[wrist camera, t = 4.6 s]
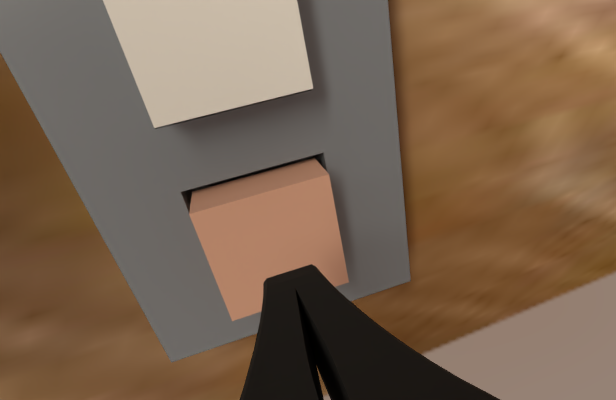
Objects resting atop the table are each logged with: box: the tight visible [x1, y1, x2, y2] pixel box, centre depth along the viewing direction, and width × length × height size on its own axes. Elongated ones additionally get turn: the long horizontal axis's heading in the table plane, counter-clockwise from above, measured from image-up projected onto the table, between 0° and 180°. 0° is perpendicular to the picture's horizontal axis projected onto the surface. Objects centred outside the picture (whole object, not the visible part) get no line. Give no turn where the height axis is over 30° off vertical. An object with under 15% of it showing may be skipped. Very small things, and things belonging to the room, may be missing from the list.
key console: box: [0, 0, 411, 362], centre depth 12 cm, size 12×26×3 cm, turn 12°
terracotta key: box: [189, 158, 349, 321], centre depth 14 cm, size 5×5×2 cm
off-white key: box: [103, 0, 313, 128], centre depth 11 cm, size 5×5×2 cm
